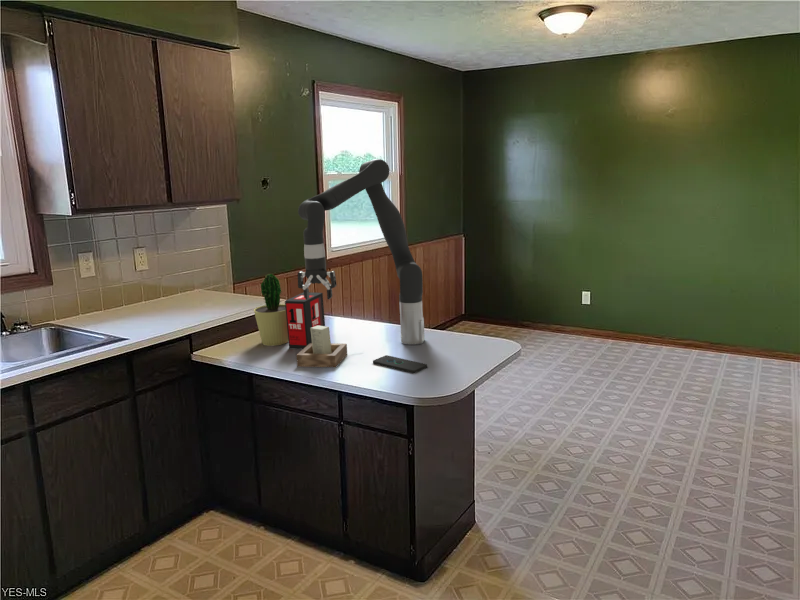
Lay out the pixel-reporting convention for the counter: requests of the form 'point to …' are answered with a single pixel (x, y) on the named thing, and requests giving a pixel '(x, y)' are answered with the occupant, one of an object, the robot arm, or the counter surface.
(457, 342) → the counter surface
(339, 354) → the block
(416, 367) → the smart home device
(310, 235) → the robot arm
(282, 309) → the potted cactus
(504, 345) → the counter surface
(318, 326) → the skincare box
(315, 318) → the cleaning product box
